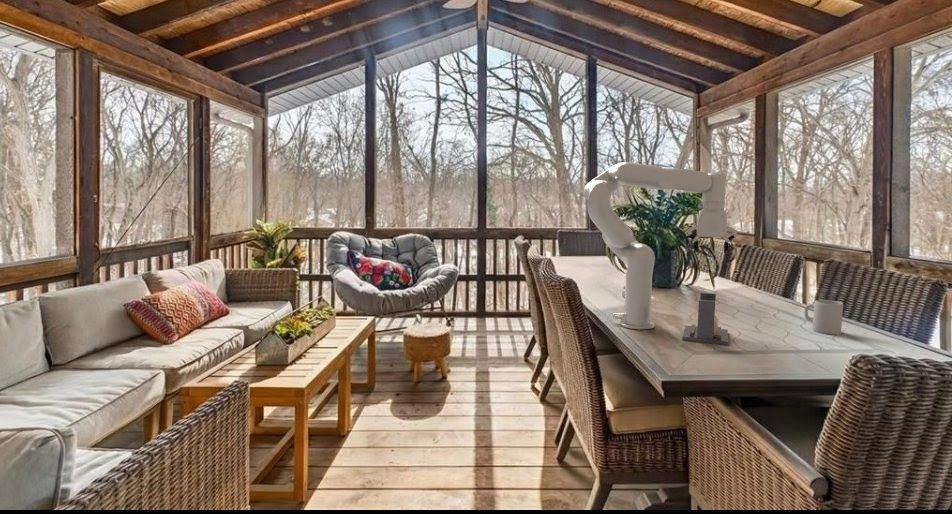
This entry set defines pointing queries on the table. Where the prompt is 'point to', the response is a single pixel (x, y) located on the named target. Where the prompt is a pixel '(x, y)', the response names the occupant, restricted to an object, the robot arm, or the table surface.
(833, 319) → the mug
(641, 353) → the table surface
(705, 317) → the roll holder
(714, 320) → the paper roll
